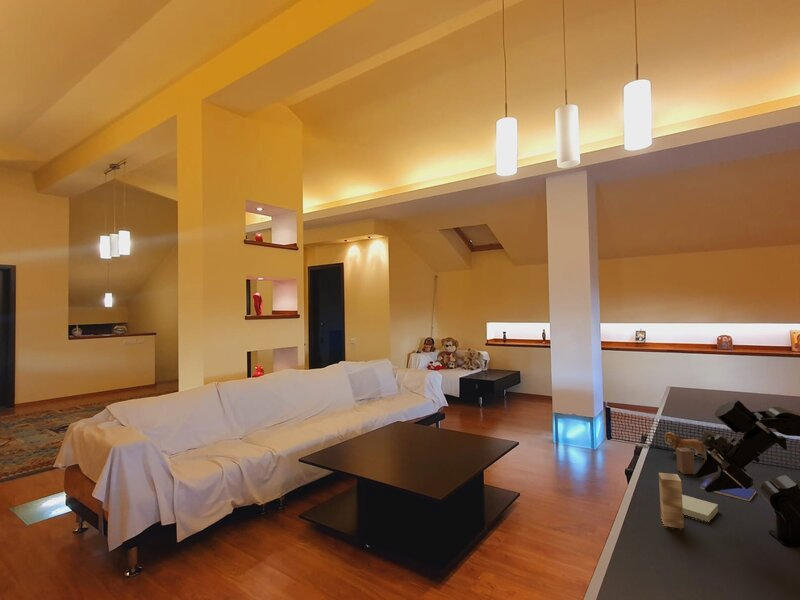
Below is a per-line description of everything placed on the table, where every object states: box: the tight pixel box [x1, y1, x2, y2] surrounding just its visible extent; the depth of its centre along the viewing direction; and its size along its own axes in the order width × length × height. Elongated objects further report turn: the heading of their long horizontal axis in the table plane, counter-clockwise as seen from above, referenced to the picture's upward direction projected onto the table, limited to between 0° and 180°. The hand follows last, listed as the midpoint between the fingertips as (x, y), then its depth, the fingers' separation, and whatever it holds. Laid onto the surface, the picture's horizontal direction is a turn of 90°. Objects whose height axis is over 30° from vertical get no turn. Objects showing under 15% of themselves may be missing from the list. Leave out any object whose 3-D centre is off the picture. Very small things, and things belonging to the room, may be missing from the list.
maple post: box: [658, 472, 685, 529], centre depth 116 cm, size 4×4×13 cm
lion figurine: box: [663, 431, 706, 458], centre depth 162 cm, size 15×5×9 cm, turn 71°
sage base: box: [682, 494, 719, 523], centre depth 122 cm, size 9×9×2 cm
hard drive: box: [699, 478, 757, 502], centre depth 133 cm, size 2×8×12 cm
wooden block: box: [675, 448, 696, 475], centre depth 148 cm, size 4×4×8 cm
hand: (701, 483), depth 113 cm, fingers open, 9 cm apart
